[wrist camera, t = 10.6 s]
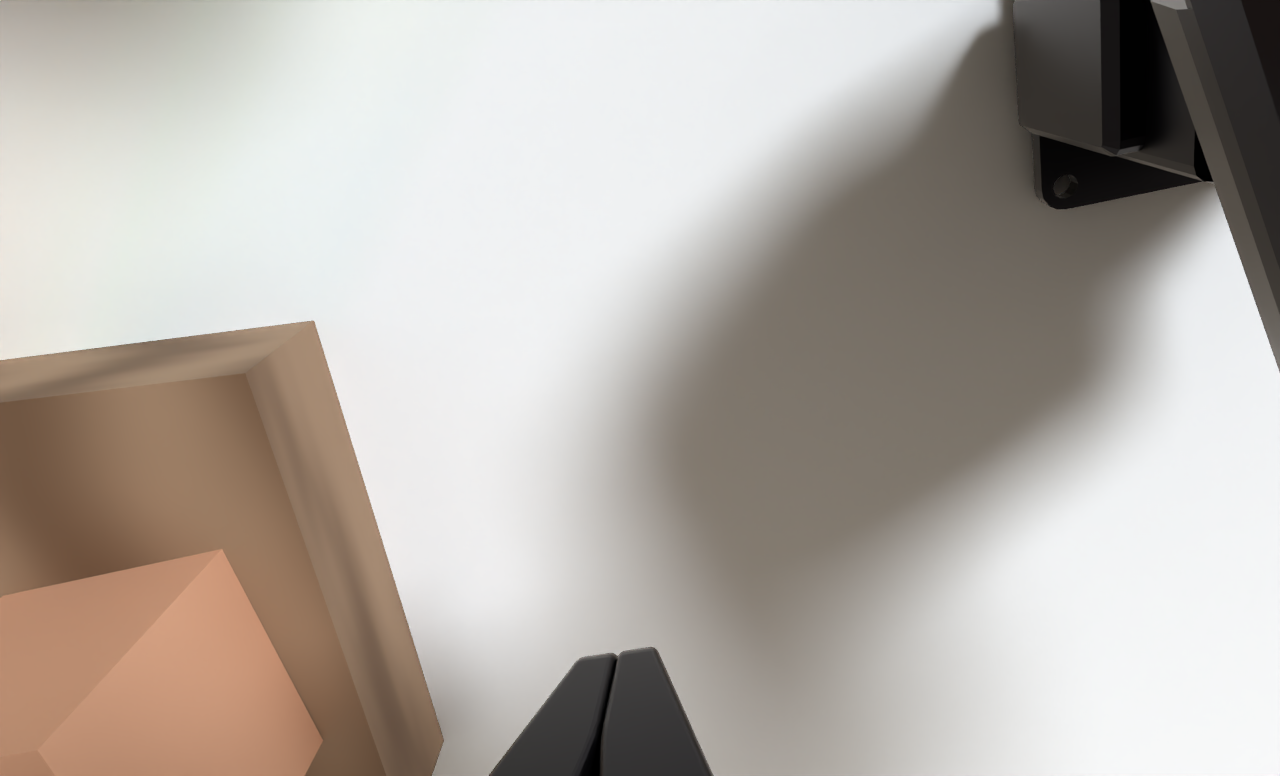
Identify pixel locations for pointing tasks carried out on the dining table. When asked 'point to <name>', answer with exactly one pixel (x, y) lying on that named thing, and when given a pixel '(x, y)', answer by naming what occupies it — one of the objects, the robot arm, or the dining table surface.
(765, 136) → the dining table surface
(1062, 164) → the robot arm
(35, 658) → the terracotta cube
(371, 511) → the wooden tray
